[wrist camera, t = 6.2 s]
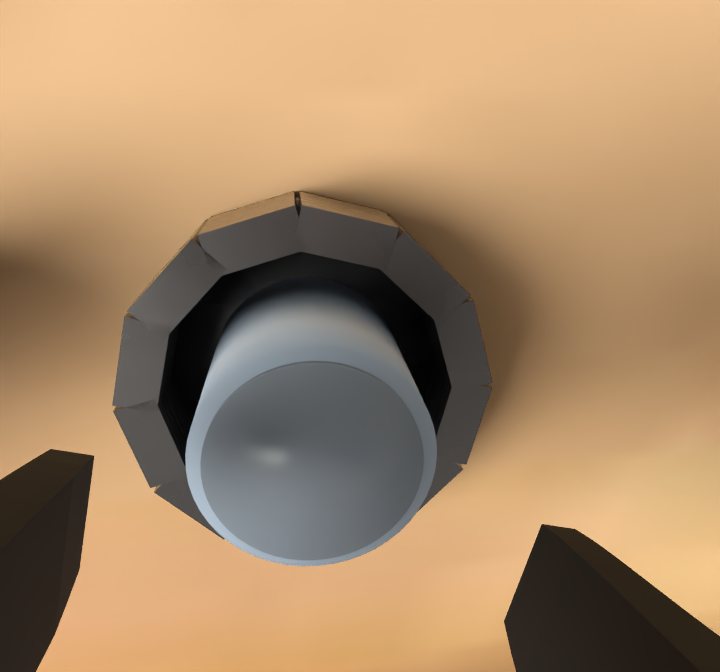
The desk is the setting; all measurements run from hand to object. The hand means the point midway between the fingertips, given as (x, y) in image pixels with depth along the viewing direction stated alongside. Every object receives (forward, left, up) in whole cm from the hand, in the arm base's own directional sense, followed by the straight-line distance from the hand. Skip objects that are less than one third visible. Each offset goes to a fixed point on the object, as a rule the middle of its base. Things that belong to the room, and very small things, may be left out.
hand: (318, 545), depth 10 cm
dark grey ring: (0, 0, -8) cm, 8 cm away
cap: (0, 0, -7) cm, 7 cm away
